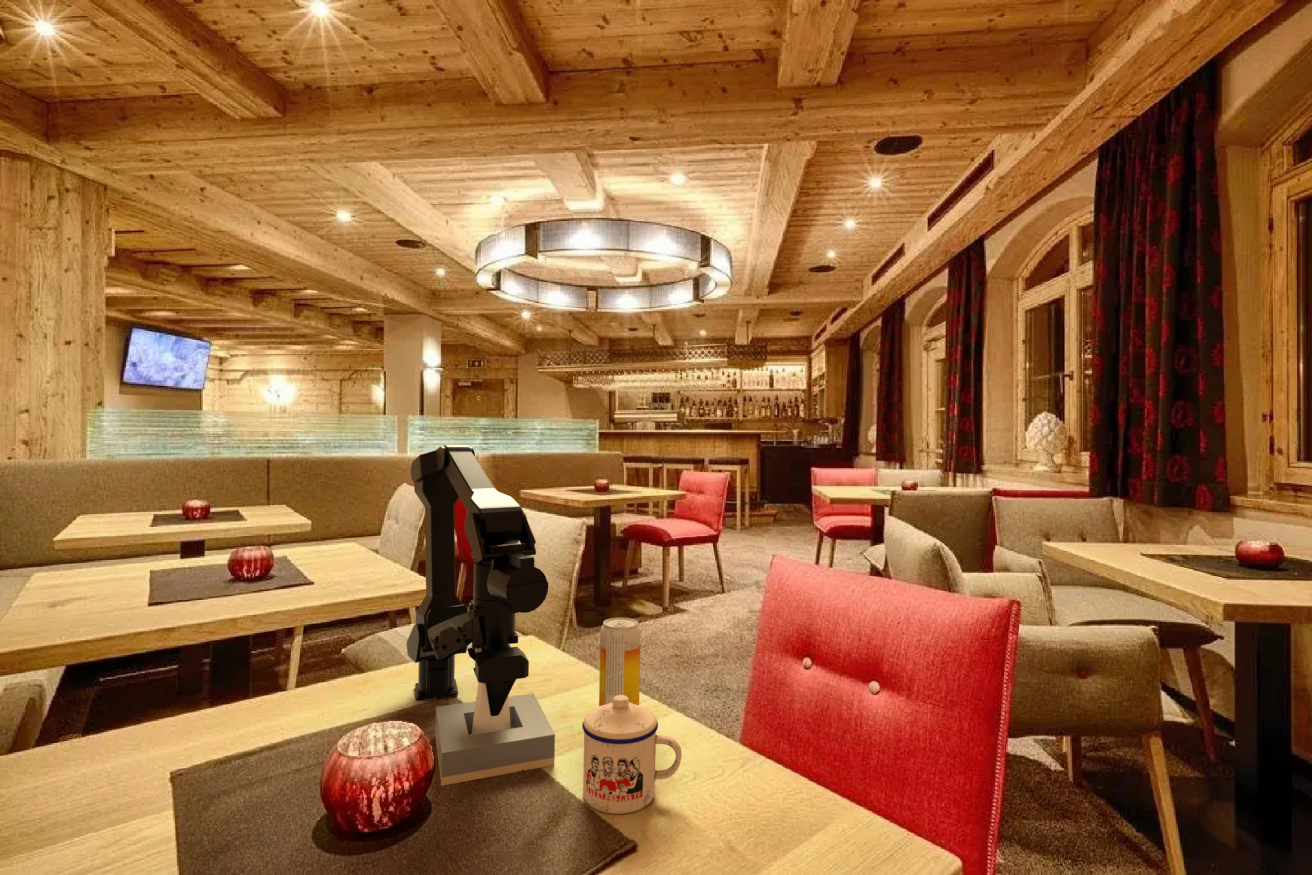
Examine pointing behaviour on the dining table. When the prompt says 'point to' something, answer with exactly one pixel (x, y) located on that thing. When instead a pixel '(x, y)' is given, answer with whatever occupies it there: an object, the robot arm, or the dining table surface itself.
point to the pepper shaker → (482, 714)
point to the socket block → (492, 742)
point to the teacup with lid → (622, 756)
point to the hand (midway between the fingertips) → (492, 709)
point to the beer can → (619, 660)
